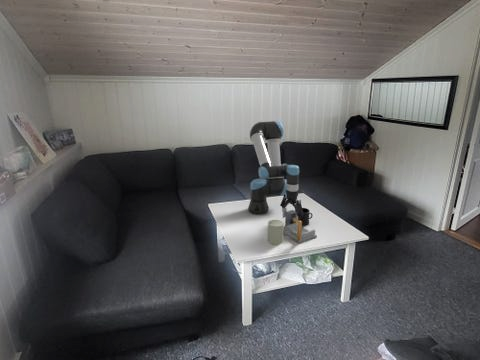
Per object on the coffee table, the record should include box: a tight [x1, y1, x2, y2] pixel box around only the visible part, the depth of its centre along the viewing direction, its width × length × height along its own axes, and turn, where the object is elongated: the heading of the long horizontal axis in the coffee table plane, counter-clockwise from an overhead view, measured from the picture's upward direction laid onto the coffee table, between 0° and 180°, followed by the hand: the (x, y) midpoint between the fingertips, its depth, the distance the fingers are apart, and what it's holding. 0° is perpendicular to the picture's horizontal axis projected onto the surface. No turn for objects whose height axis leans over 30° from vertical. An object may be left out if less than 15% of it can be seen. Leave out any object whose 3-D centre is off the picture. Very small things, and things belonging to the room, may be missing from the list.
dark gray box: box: [284, 209, 297, 227], centre depth 190 cm, size 5×6×10 cm
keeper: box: [283, 218, 318, 244], centre depth 178 cm, size 16×14×14 cm
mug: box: [294, 207, 313, 227], centre depth 195 cm, size 9×12×9 cm
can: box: [267, 219, 285, 246], centre depth 172 cm, size 9×9×12 cm
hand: (291, 220), depth 191 cm, fingers open, 13 cm apart
